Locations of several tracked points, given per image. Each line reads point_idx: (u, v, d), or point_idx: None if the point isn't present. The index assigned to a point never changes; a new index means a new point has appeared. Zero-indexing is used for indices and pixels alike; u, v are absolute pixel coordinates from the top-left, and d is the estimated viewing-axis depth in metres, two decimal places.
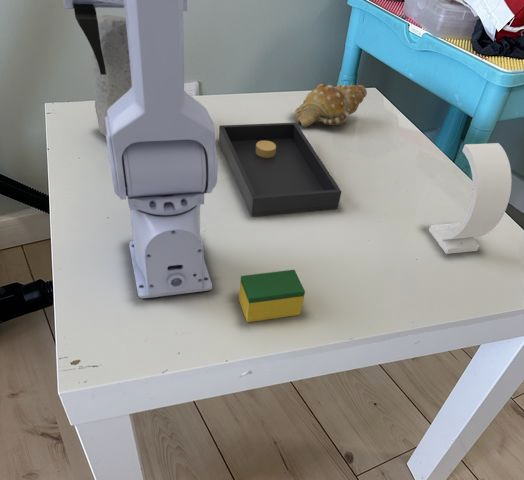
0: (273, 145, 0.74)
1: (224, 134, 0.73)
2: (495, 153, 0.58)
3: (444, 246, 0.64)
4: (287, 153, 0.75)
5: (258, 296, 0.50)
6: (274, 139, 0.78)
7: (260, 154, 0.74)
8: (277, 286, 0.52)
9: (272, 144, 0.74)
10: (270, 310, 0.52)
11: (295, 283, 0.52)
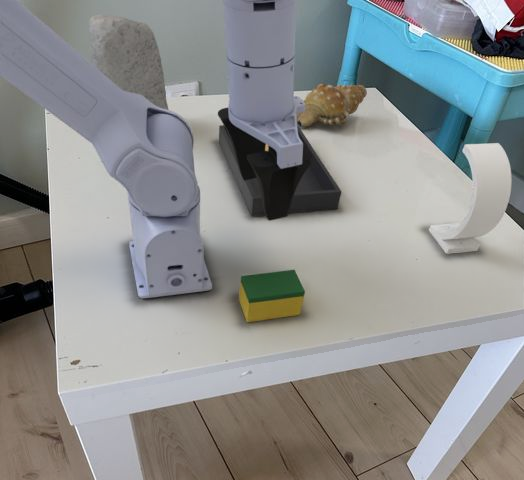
0: None
1: (224, 134, 0.73)
2: (495, 153, 0.58)
3: (444, 246, 0.64)
4: None
5: (258, 296, 0.50)
6: None
7: None
8: (277, 286, 0.52)
9: None
10: (270, 310, 0.52)
11: (295, 283, 0.52)
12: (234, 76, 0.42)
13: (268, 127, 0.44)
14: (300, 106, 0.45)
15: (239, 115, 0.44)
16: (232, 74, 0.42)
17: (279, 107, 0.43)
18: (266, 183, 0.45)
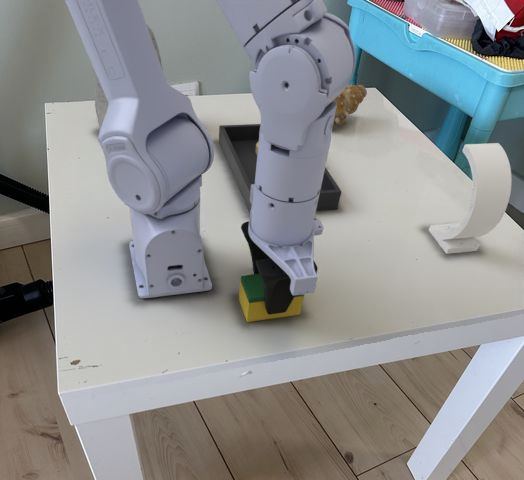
0: None
1: (224, 134, 0.73)
2: (495, 153, 0.58)
3: (444, 246, 0.64)
4: None
5: (258, 296, 0.50)
6: None
7: None
8: None
9: None
10: None
11: None
12: (259, 202, 0.43)
13: (285, 250, 0.45)
14: (318, 230, 0.47)
15: (259, 234, 0.45)
16: (258, 199, 0.43)
17: (299, 234, 0.44)
18: (270, 287, 0.47)
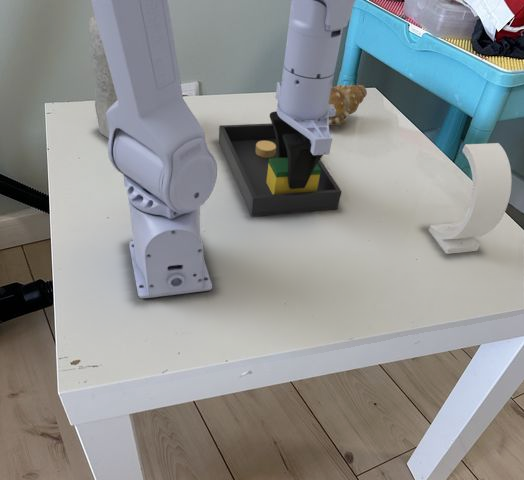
0: (273, 145, 0.74)
1: (224, 134, 0.73)
2: (495, 153, 0.58)
3: (444, 246, 0.64)
4: None
5: (283, 171, 0.63)
6: (274, 139, 0.78)
7: (260, 154, 0.74)
8: None
9: (272, 144, 0.74)
10: None
11: None
12: (287, 81, 0.55)
13: (307, 123, 0.57)
14: (332, 111, 0.59)
15: (286, 111, 0.57)
16: (286, 79, 0.55)
17: (317, 109, 0.56)
18: (294, 157, 0.59)
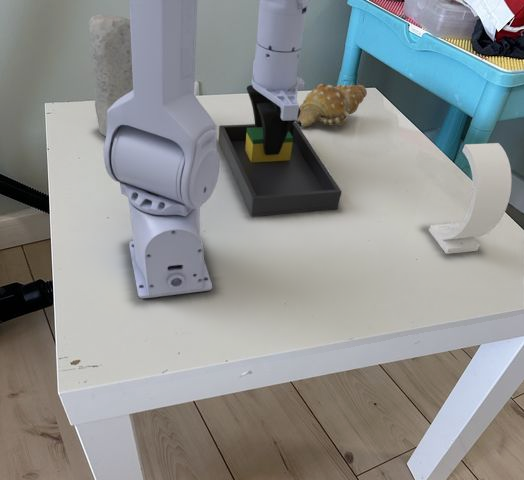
0: None
1: (224, 134, 0.73)
2: (495, 153, 0.58)
3: (444, 246, 0.64)
4: None
5: (259, 138, 0.70)
6: None
7: None
8: None
9: None
10: None
11: None
12: (259, 55, 0.63)
13: (277, 93, 0.65)
14: (301, 84, 0.67)
15: (259, 82, 0.65)
16: (258, 53, 0.63)
17: (287, 80, 0.64)
18: (267, 124, 0.67)
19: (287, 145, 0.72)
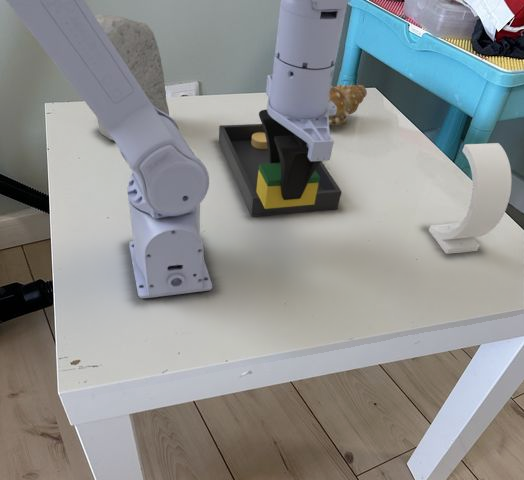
0: None
1: (224, 134, 0.73)
2: (495, 153, 0.58)
3: (444, 246, 0.64)
4: None
5: (276, 179, 0.54)
6: None
7: (255, 145, 0.75)
8: None
9: None
10: None
11: None
12: (279, 72, 0.46)
13: (303, 123, 0.48)
14: (332, 109, 0.50)
15: (278, 109, 0.48)
16: (278, 71, 0.46)
17: (315, 106, 0.47)
18: (288, 164, 0.50)
19: (312, 186, 0.56)
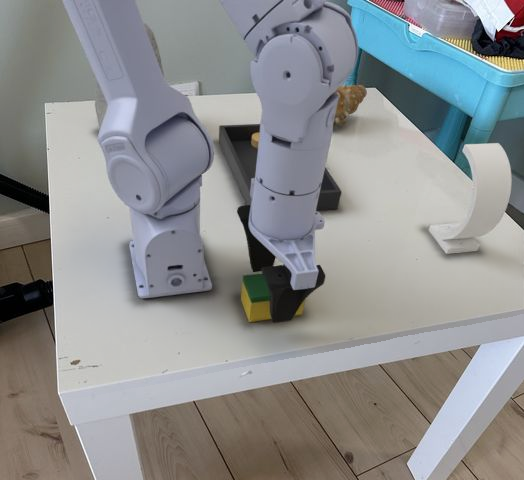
0: None
1: (224, 134, 0.73)
2: (495, 153, 0.58)
3: (444, 246, 0.64)
4: None
5: (260, 296, 0.50)
6: None
7: (255, 145, 0.75)
8: None
9: None
10: None
11: None
12: (260, 195, 0.42)
13: (286, 244, 0.44)
14: (319, 224, 0.46)
15: (259, 228, 0.44)
16: (258, 193, 0.42)
17: (300, 228, 0.44)
18: (276, 295, 0.45)
19: None
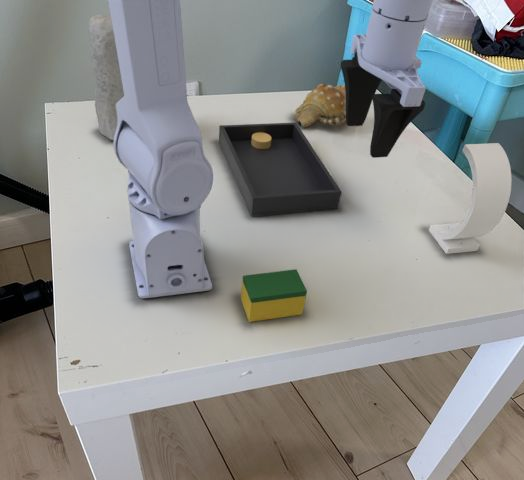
0: (268, 137, 0.76)
1: (224, 134, 0.73)
2: (495, 153, 0.58)
3: (444, 246, 0.64)
4: (287, 153, 0.75)
5: (260, 296, 0.50)
6: (274, 139, 0.78)
7: (255, 145, 0.75)
8: (279, 286, 0.52)
9: (267, 136, 0.76)
10: (272, 310, 0.52)
11: (297, 283, 0.52)
12: (376, 25, 0.51)
13: (394, 73, 0.53)
14: (418, 63, 0.55)
15: (371, 60, 0.53)
16: (375, 24, 0.51)
17: (407, 58, 0.52)
18: (384, 120, 0.54)
19: (299, 299, 0.52)
